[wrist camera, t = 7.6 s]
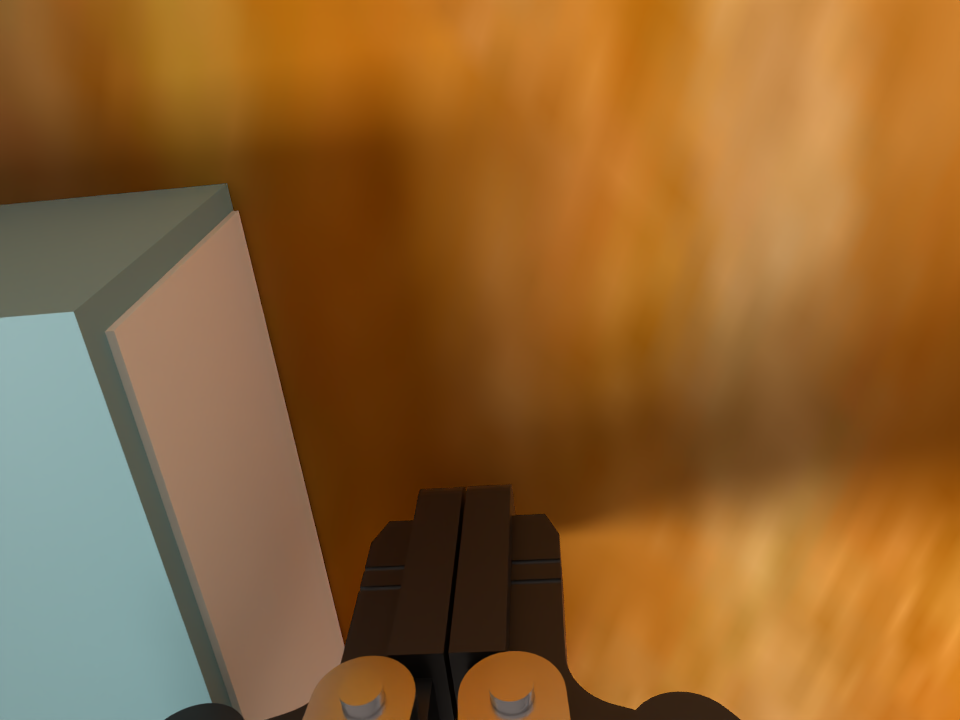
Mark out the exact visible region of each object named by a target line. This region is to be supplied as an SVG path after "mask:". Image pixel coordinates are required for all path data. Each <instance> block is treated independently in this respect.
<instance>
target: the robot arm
mask: <svg viewBox="0 0 960 720" xmlns="http://www.w3.org/2000/svg"><path fill="white" fill-rule="evenodd" d="M165 720H244V718H243V716H242V715H241V714H240V713H239V712H238V711H237V710H235V709H234V708H232V707H230V706H227V705H224V704H219V703H205V704H198V705H194V706H190V707H188V708H185V709H182V710H180V711H178V712H176V713H174V714H172V715H171V716H169V717H168V718H166V719H165ZM266 720H740V719H739V718H738V717H737V716H735V715H734V714H733V713H732V712H730V711H729V710H728V709H727V708H725V707H724V706H722V705H721V704H719V703H718V702H716V701H714V700H712V699H710V698H708V697H705V696H702V695H699V694H694V693H690V692H669V693H664V694H660V695H657V696H655V697H652V698H650V699H649V700H647V701H645V702H644V703H643V704H641V705H640V706H639V707H638V708H637V709H636V710H633V709H629V708H625V707H622V706H618V705H614V704H611V703H608V702H605V701H602V700H600V699H598V698H596V697H594V696H593V695H591V694H590V693H588V692H587V691H585V690H584V689H583V688H582V687H581V686H580V685H579V684H578V683H577V682H576V681H575V679H574V678H573V677H572V675H571V673H570V671H569V669H568V666H567V649H566V630H565V611H564V596H563V582H562V567H561V553H560V539H559V533H558V532H557V530H556V529H555V528H554V526H553V525H552V523H551V522H550V520H549V519H548V518H547V516H546V515H545V514H533V515H515V506H514V496H513V488H512V484H506V485H487V486H468V487H467V491H466V489H465V487H451V488H432V489H421V490H420V491H419V495H418V500H417V505H416V510H415V515H414V520H411V521H390V522H389V523H388V524H387V525H386V526H385V527H384V529H383V530H382V531H381V532H380V533H379V535H378V536H377V537H376V538H375V539H374V541H373V542H372V543H371V547H370V550H369V554H368V558H367V562H366V566H365V572H364V574H363V578H362V582H361V586H360V591H359V593H358V597H357V601H356V605H355V609H354V613H353V617H352V621H351V625H350V628H349V632H348V636H347V640H346V644H345V648H344V652H343V656H342V660H341V663H340V665H338V666H337V667H335V668H333V669H332V670H331V671H330V672H328V673H327V674H326V675H325V676H324V677H323V678H322V679H321V680H320V681H319V683H318V684H317V686H316V687H315V689H314V691H313V693H312V695H311V698H310V701H309V702H308V703H307V704H305V705H304V706H302V707H300V708H298V709H296V710H293V711H290V712H288V713H285V714H282V715H279V716H275V717H272V718H269V719H266Z"/></svg>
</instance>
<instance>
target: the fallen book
mask: <svg viewBox="0 0 960 720" xmlns="http://www.w3.org/2000/svg"><path fill="white" fill-rule="evenodd" d="M344 648H345V647H344V643H343V638H342V634H341V630H340V626H339V622H338V618H337V614H336V610H335V606H334V601H333V597H332V593H331V589H330V585H329V581H328V577H327V573H326V569H325V564H324V560H323V556H322V552H321V548H320V544H319V540H318V536H317V532H316V527H315V523H314V519H313V515H312V511H311V507H310V503H309V499H308V494H307V490H306V486H305V482H304V478H303V474H302V470H301V466H300V462H299V457H298V453H297V449H296V445H295V441H294V437H293V433H292V429H291V425H290V420H289V416H288V412H287V408H286V404H285V400H284V396H283V392H282V388H281V383H280V379H279V375H278V371H277V367H276V363H275V359H274V355H273V351H272V346H271V342H270V338H269V334H268V330H267V326H266V322H265V318H264V313H263V309H262V305H261V301H260V297H259V293H258V289H257V285H256V281H255V276H254V272H253V268H252V264H251V260H250V256H249V252H248V248H247V244H246V239H245V235H244V231H243V227H242V223H241V219H240V215H239V211H234V210H233V206H232V202H231V198H230V194H229V190H228V185H227V183H225V184H215V185H204V186H194V187H183V188H173V189H162V190H152V191H142V192H131V193H121V194H110V195H100V196H89V197H79V198H68V199H58V200H47V201H37V202H26V203H16V204H5V205H0V720H165V719H166V718H168V717H169V716H171V715H172V714H174V713H176V712H178V711H180V710H182V709H185V708H188V707H190V706H194V705H198V704H205V703H219V704H224V705H227V706H230V707H232V708H234V709H235V710H237V711H238V712H239V713H240V714H241V715H242V716H243V718H244V720H266V719H269V718H272V717H275V716H279V715H282V714H285V713H288V712H290V711H293V710H296V709H298V708H300V707H302V706H304V705H305V704H307V703H308V702H309V701H310V698H311V695H312V693H313V691H314V689H315V687H316V686H317V684H318V683H319V681H320V680H321V679H322V678H323V677H324V676H325V675H326V674H327V673H328V672H330V671H331V670H332V669H333V668H335V667H337V666H338V665H340V663H341V660H342V656H343V652H344Z"/></svg>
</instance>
